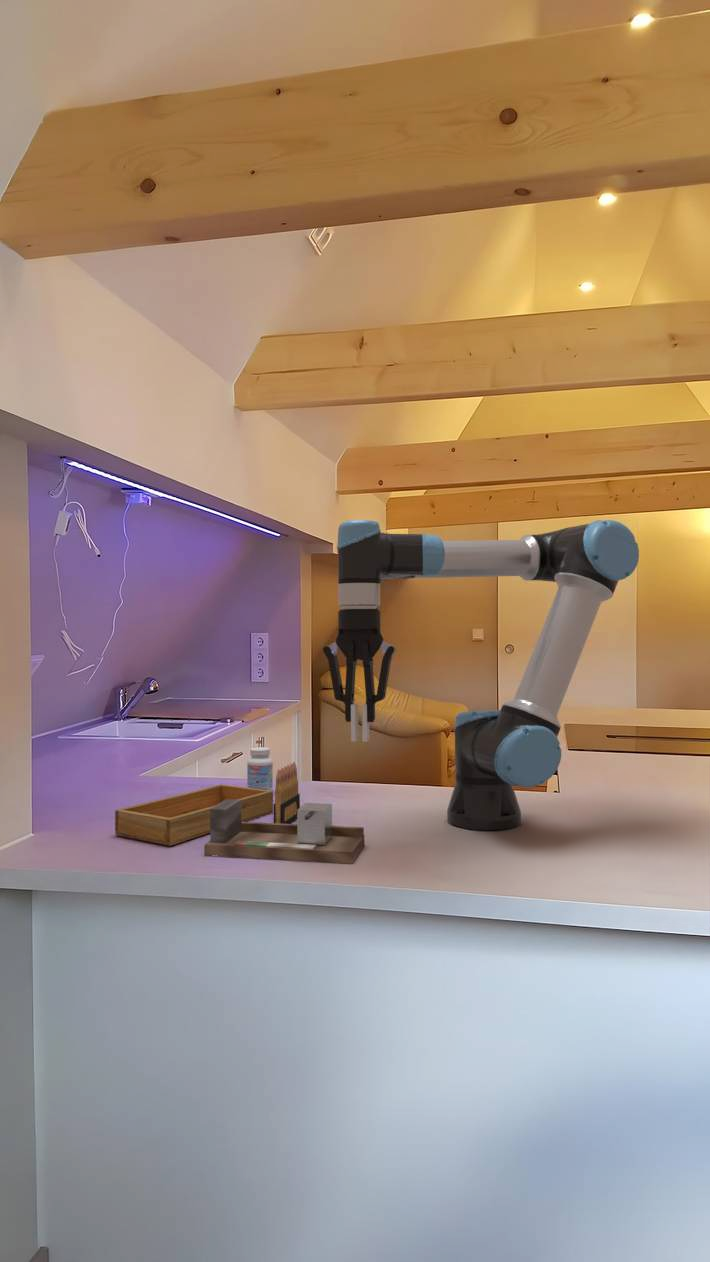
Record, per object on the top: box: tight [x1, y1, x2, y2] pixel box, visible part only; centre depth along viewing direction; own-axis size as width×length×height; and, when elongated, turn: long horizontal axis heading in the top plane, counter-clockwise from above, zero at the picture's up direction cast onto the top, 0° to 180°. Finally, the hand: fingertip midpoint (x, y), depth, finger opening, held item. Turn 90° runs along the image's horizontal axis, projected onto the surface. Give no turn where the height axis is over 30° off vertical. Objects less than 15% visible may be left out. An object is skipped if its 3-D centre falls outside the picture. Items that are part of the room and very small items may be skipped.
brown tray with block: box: [203, 799, 366, 865], centre depth 141 cm, size 27×11×8 cm, turn 78°
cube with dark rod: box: [296, 802, 333, 845], centre depth 139 cm, size 5×9×6 cm, turn 168°
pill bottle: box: [246, 746, 274, 792], centre depth 187 cm, size 6×6×11 cm
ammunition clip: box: [273, 761, 301, 824], centre depth 161 cm, size 11×2×12 cm, turn 164°
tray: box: [114, 783, 274, 847], centre depth 161 cm, size 31×15×6 cm, turn 148°
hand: (360, 740), depth 138 cm, fingers closed
